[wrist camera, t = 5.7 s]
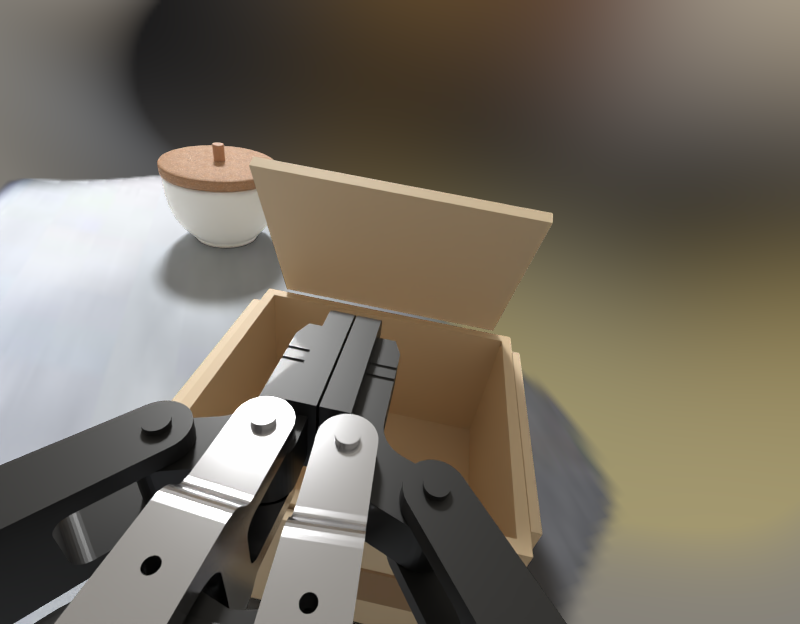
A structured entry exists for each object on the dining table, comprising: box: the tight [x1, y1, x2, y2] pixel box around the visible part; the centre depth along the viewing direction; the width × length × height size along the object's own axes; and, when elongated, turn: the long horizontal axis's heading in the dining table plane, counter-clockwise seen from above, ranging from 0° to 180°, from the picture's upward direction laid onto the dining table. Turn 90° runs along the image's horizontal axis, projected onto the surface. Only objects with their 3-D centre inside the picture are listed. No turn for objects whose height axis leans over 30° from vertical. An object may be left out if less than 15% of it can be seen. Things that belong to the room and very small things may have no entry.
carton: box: [172, 288, 542, 624], centre depth 21 cm, size 15×13×8 cm
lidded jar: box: [157, 143, 273, 248], centre depth 43 cm, size 11×11×9 cm
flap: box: [249, 157, 553, 331], centre depth 20 cm, size 12×1×9 cm, turn 82°
